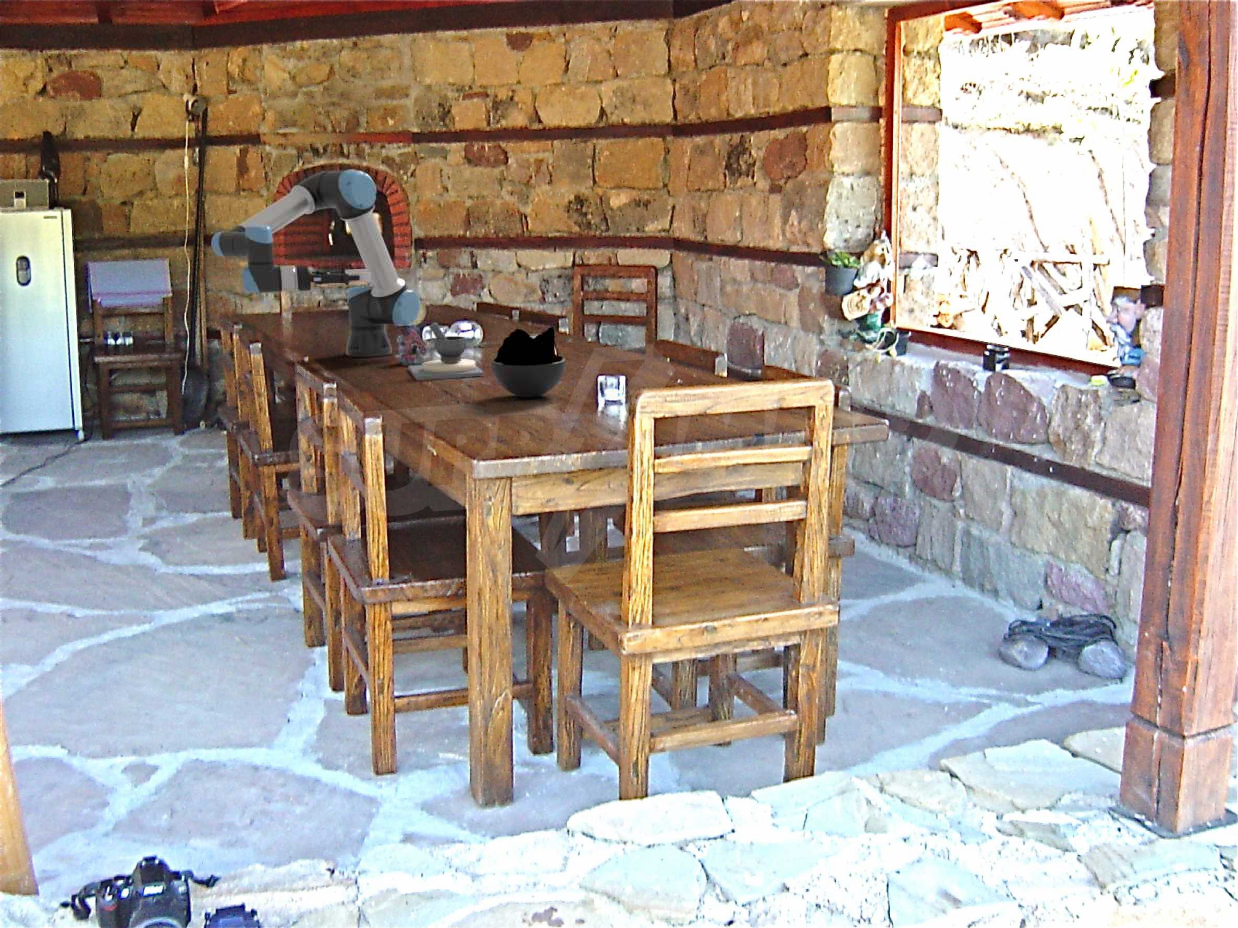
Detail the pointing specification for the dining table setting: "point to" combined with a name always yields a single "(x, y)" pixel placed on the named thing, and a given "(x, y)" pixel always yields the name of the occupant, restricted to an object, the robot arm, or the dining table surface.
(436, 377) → the carrier board
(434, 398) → the dining table surface
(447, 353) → the mortar and pestle
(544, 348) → the coal bowl
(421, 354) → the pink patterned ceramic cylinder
